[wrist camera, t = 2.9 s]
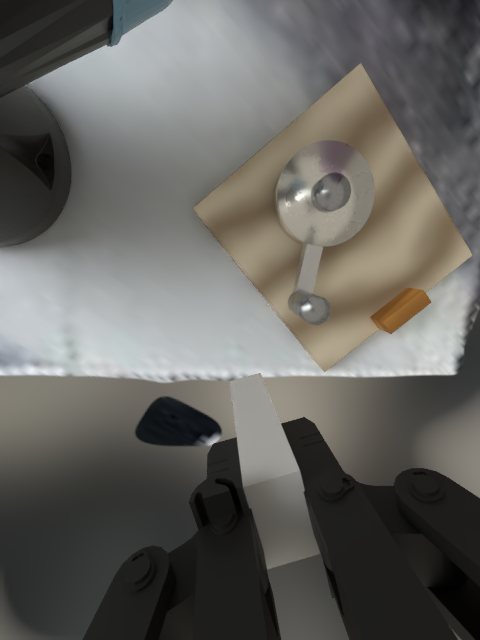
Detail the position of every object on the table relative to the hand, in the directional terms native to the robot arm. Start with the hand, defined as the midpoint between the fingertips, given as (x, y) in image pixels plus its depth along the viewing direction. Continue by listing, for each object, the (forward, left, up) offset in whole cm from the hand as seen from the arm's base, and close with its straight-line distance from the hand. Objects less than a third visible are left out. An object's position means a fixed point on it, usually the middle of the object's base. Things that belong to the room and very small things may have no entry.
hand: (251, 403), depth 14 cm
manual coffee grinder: (-2, +12, -17) cm, 21 cm away
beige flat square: (0, +14, -19) cm, 24 cm away
